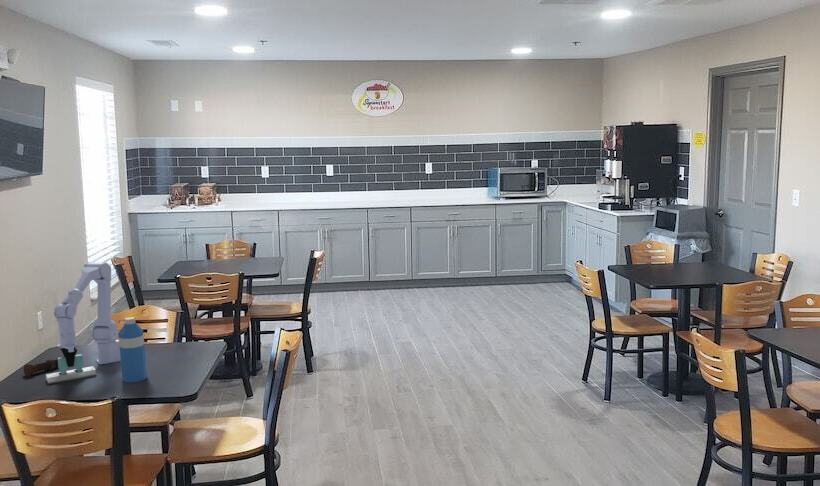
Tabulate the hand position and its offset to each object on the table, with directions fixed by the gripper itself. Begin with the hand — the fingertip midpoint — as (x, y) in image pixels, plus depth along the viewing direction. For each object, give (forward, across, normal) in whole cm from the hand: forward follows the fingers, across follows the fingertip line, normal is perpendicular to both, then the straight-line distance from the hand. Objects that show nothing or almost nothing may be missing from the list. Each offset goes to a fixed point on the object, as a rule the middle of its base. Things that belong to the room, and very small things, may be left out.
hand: (70, 365), depth 312 cm
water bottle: (+5, +18, +21) cm, 28 cm away
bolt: (+6, -18, -8) cm, 20 cm away
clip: (+3, 0, 0) cm, 3 cm away
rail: (+5, 0, 0) cm, 5 cm away
